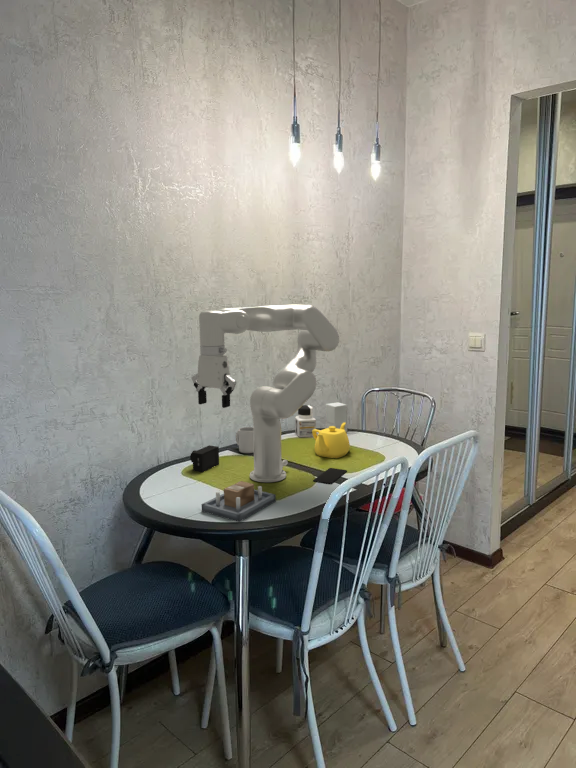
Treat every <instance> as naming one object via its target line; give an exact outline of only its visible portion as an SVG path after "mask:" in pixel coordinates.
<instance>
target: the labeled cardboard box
mask: <svg viewBox="0 0 576 768" xmlns="http://www.w3.org/2000/svg"><path fill="white" fill-rule="evenodd" d="M254 489H255V484H254V483H252V482H247V481H244V480H239V481H238V482H236V483H233V484H232V485H229V486H227V487H225V488H223V494H224V505H227V506H230V507H234V508H236V498H237V497H240V507H241V506H243V505H245V504H247V503H249V502H251V501H253V500H254Z"/></svg>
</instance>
